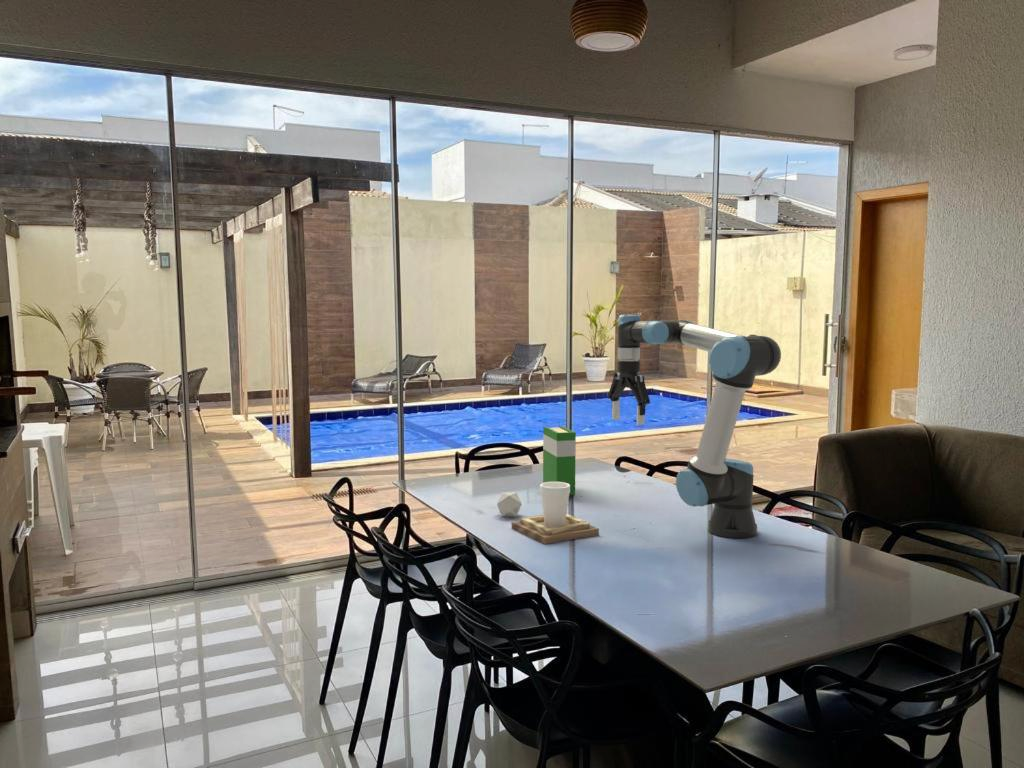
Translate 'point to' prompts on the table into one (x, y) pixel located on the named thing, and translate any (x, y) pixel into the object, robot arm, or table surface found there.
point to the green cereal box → (559, 456)
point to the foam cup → (554, 502)
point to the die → (509, 504)
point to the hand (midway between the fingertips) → (627, 422)
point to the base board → (554, 536)
